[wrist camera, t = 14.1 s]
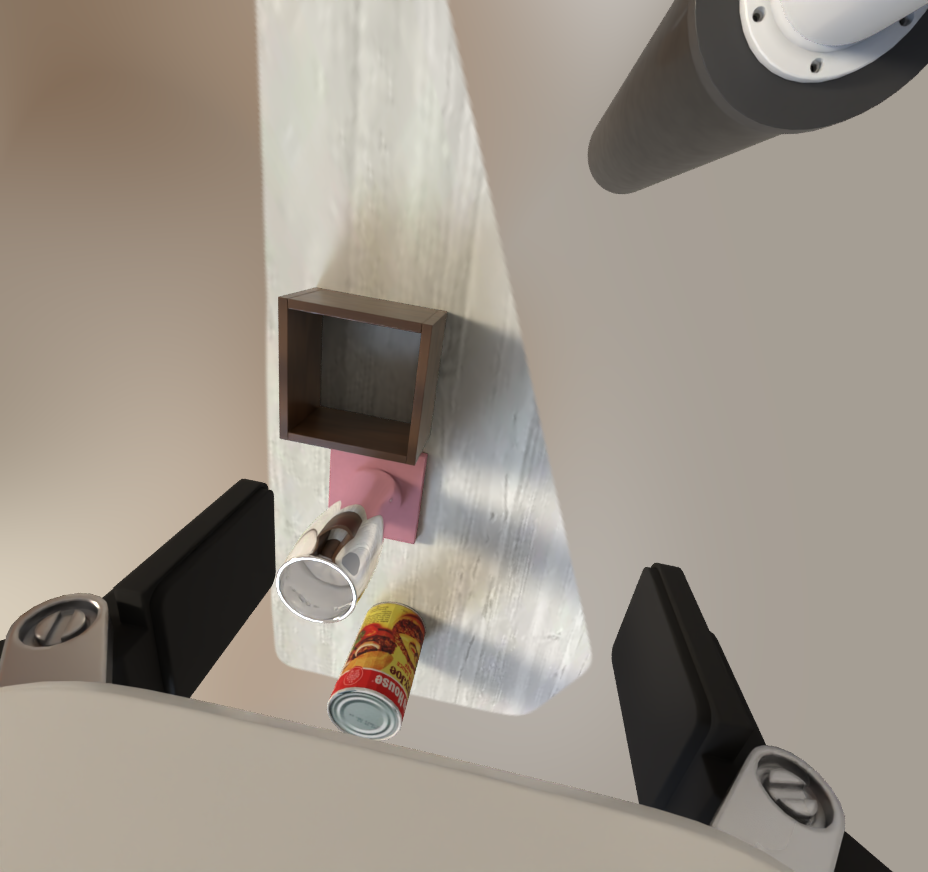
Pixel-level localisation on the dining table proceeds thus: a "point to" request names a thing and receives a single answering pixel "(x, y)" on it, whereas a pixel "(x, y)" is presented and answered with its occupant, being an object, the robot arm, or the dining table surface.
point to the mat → (406, 476)
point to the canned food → (378, 673)
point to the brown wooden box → (303, 375)
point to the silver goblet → (340, 550)
